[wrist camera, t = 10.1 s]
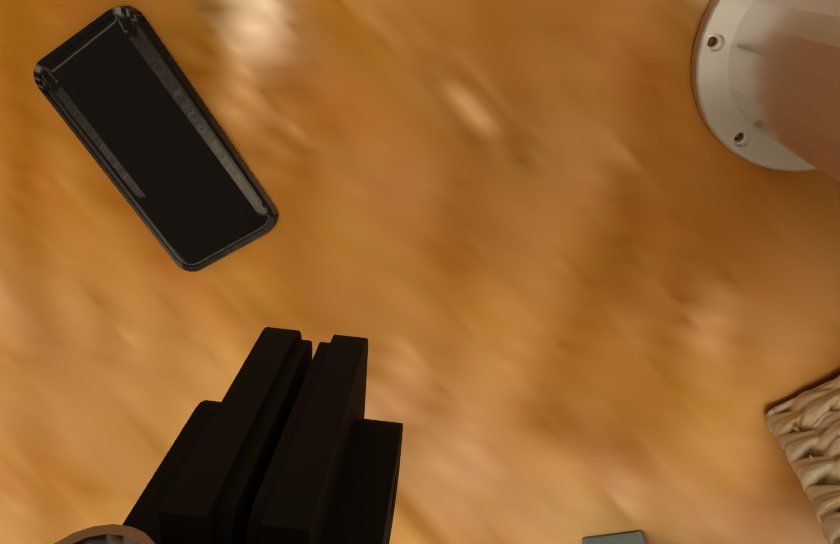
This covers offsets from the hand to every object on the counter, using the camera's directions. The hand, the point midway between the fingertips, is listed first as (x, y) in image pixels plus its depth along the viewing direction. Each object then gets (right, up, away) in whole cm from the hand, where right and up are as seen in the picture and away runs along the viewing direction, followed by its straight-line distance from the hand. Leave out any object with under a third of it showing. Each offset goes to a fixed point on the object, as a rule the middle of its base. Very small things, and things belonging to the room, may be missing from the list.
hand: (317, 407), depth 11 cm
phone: (-14, +10, +29) cm, 34 cm away
